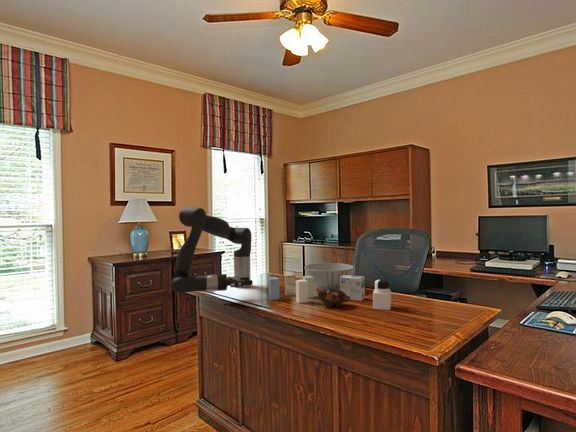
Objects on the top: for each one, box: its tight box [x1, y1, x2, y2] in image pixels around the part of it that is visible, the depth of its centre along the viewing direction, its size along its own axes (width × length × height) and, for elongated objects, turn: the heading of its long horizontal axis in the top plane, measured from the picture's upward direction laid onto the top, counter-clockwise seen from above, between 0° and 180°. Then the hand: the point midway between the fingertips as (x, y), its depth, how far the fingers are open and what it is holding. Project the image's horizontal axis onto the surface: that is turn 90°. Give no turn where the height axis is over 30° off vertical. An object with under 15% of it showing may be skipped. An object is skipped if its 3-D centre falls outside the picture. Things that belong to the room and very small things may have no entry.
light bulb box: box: [340, 275, 366, 302], centre depth 179 cm, size 11×7×11 cm, turn 65°
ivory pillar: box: [295, 279, 309, 304], centre depth 174 cm, size 4×4×10 cm
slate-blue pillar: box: [268, 276, 280, 301], centre depth 180 cm, size 4×4×10 cm
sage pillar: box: [302, 275, 315, 299], centre depth 183 cm, size 4×4×10 cm
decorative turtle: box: [316, 289, 351, 309], centre depth 165 cm, size 10×15×8 cm, turn 108°
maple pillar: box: [284, 273, 296, 297], centre depth 189 cm, size 4×4×10 cm
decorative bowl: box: [304, 262, 355, 291], centre depth 201 cm, size 27×27×12 cm
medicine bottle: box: [372, 279, 392, 311], centre depth 162 cm, size 7×7×12 cm
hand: (250, 280), depth 177 cm, fingers open, 8 cm apart
